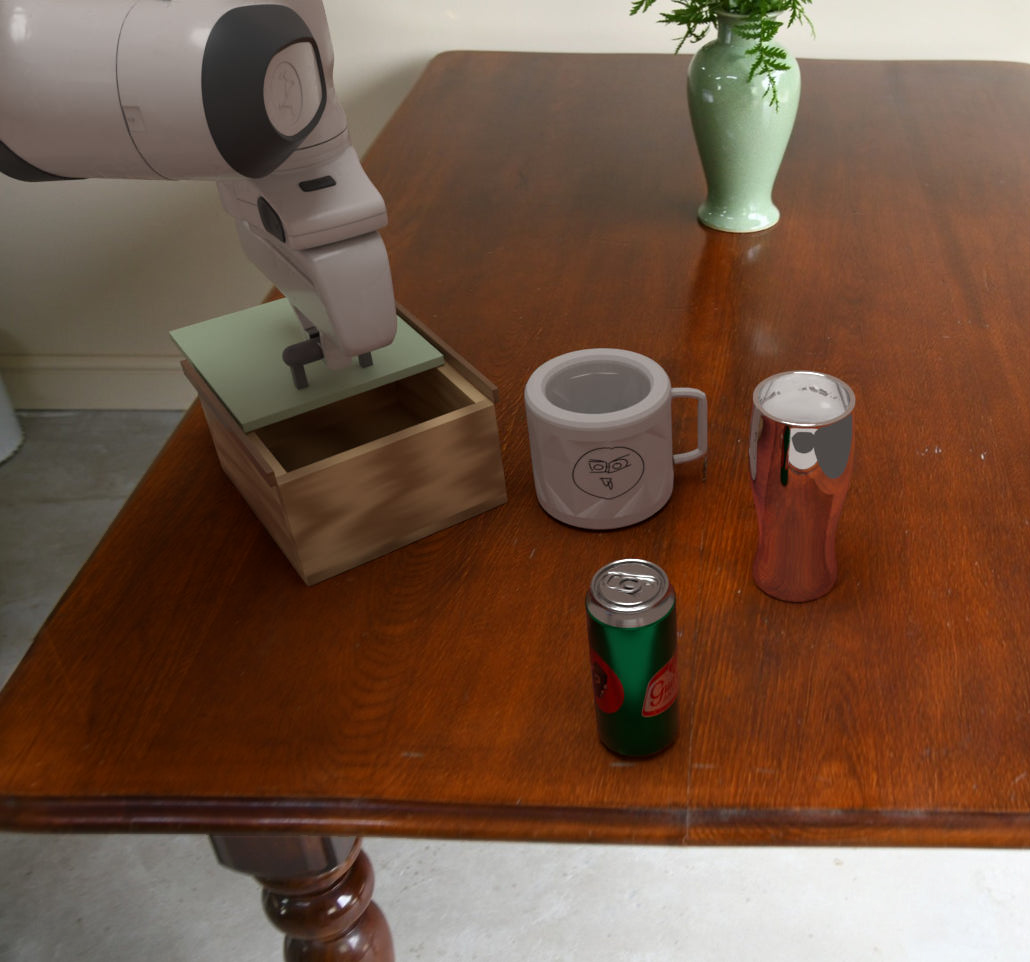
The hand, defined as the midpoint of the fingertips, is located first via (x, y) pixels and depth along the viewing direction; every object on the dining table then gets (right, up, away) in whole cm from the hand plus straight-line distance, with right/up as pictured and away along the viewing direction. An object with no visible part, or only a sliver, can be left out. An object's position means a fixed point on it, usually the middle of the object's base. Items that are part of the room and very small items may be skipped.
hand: (329, 356), depth 82 cm
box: (0, -9, +7) cm, 12 cm away
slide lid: (-4, +1, +5) cm, 6 cm away
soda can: (+24, -24, -13) cm, 37 cm away
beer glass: (+34, -16, -2) cm, 37 cm away
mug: (+21, -10, +6) cm, 24 cm away
